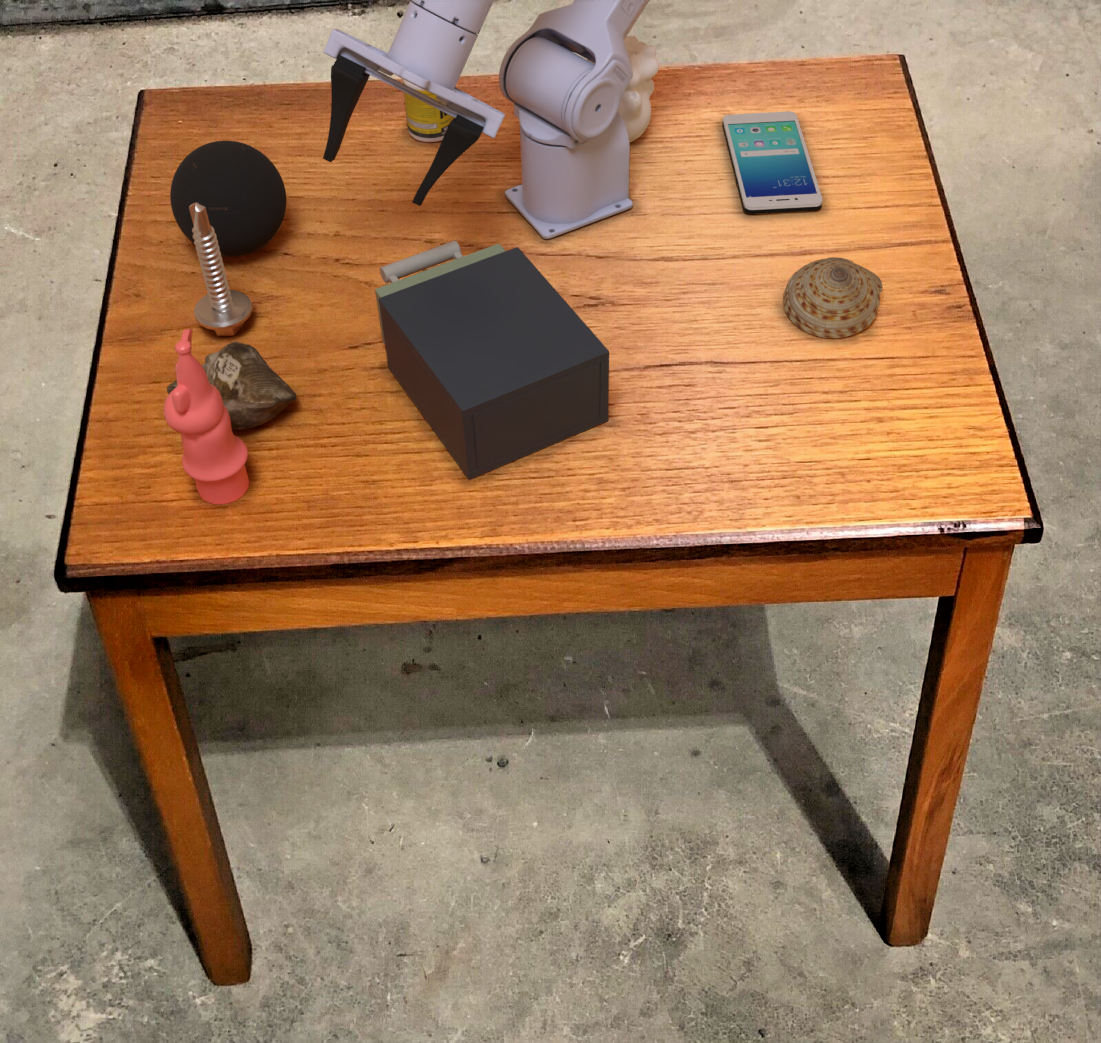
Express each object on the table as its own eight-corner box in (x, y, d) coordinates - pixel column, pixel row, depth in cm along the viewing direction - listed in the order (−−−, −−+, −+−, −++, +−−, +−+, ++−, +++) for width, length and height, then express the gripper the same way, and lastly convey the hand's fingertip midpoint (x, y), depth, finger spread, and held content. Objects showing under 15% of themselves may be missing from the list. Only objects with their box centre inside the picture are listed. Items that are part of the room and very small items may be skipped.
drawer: (360, 312, 122) (352, 259, 118) (479, 268, 126) (475, 215, 122) (455, 442, 112) (450, 389, 108) (581, 391, 116) (581, 337, 111)
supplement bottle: (449, 146, 139) (442, 69, 133) (402, 141, 140) (393, 64, 134) (461, 118, 142) (455, 41, 136) (415, 113, 143) (407, 37, 137)
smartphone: (796, 110, 141) (825, 203, 131) (795, 117, 141) (824, 211, 131) (720, 114, 140) (744, 208, 131) (720, 121, 141) (743, 215, 131)
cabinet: (388, 368, 119) (378, 298, 113) (521, 316, 123) (517, 246, 117) (468, 480, 111) (462, 410, 105) (608, 421, 115) (609, 351, 109)
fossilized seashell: (143, 409, 113) (253, 460, 112) (162, 332, 111) (275, 384, 109) (192, 390, 120) (296, 438, 118) (212, 317, 118) (318, 365, 116)
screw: (202, 309, 125) (258, 307, 125) (195, 347, 121) (252, 344, 121) (169, 185, 115) (230, 183, 115) (160, 223, 111) (223, 220, 112)
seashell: (897, 262, 123) (879, 285, 117) (880, 323, 126) (862, 350, 119) (805, 238, 126) (783, 260, 119) (791, 299, 128) (768, 323, 122)
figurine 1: (191, 462, 113) (146, 318, 101) (257, 458, 113) (219, 313, 101) (186, 512, 109) (139, 368, 98) (253, 506, 110) (214, 362, 98)
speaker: (219, 295, 126) (195, 201, 118) (163, 240, 131) (137, 147, 123) (315, 248, 130) (298, 155, 122) (258, 196, 135) (238, 104, 127)
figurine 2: (669, 144, 139) (674, 32, 130) (612, 168, 137) (614, 56, 127) (626, 111, 143) (629, -1, 134) (571, 133, 140) (570, 21, 131)
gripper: (350, -28, 105) (279, 144, 109) (528, 64, 107) (452, 229, 111) (362, -26, 111) (295, 136, 116) (530, 60, 113) (458, 216, 118)
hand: (373, 181), depth 114 cm, fingers open, 7 cm apart
